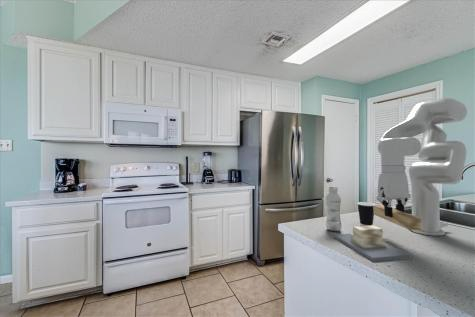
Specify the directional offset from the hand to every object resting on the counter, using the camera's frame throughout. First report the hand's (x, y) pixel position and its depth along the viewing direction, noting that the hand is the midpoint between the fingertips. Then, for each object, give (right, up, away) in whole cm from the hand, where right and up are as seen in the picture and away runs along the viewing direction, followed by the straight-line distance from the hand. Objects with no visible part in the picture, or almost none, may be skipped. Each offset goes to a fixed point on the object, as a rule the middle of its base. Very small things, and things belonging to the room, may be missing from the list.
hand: (394, 215), depth 86 cm
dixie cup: (+2, -11, +22) cm, 25 cm away
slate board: (-13, -11, -3) cm, 17 cm away
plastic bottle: (-17, -11, +15) cm, 26 cm away
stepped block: (-13, -10, -3) cm, 16 cm away
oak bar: (0, -2, 0) cm, 2 cm away
